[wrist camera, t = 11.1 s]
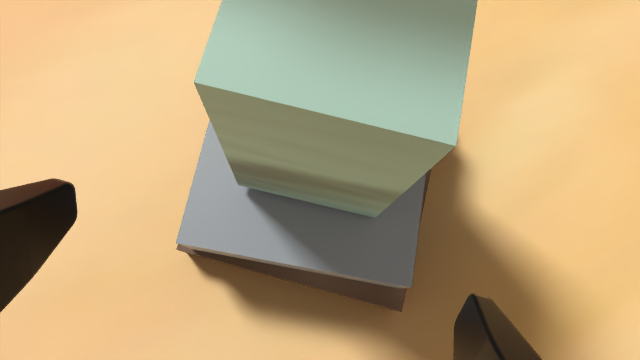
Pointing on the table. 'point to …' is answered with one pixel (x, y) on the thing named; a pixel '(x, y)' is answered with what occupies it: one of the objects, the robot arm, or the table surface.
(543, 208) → the table surface
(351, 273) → the slate grey top slab
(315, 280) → the walnut base slab
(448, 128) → the sage green block
